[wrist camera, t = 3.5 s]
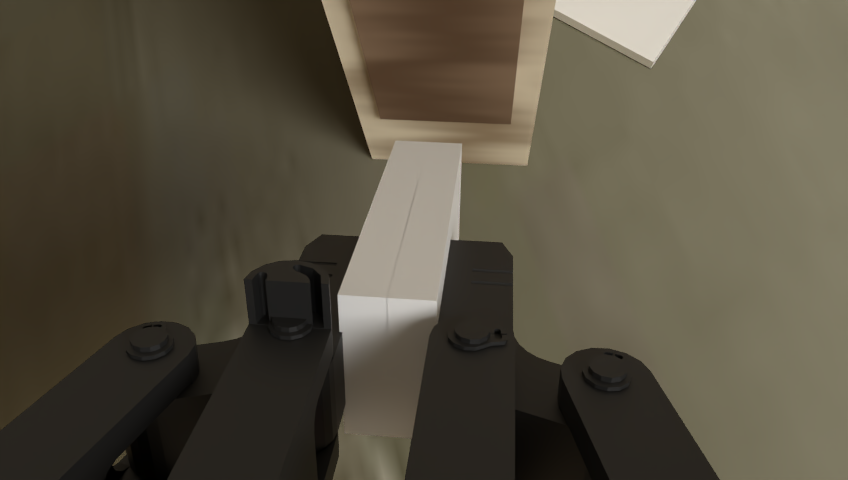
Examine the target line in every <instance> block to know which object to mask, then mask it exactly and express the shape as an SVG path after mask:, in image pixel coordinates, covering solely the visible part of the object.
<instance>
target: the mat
mask: <svg viewBox="0 0 848 480" xmlns="http://www.w3.org/2000/svg"><path fill="white" fill-rule="evenodd" d="M695 2H696V0H556V3H555V9H554V15H553V16H554V17H555V18H557V19H559V20H561V21H563V22H565V23H567V24H568V25H570V26H572V27H574V28H576V29H578V30H580V31H581V32H583V33H585V34H587V35H589V36H591V37H593V38H595V39H596V40H598V41H600V42H602V43H604V44H606V45H608V46H609V47H611V48H613V49H615V50H617V51H619V52H621V53H622V54H624V55H626V56H628V57H630V58H632V59H634V60H635V61H637V62H639V63H641V64H643V65H645V66H647V67H649V68H650V69H651V68H652V66H653V65H654V63H655V62H656V60H657V59H658V57H659V56H660V54H661V53H662V51H663V50H664V48H665V47H666V45H667V44H668V42H669V41H670V39H671V38H672V36H673V35H674V33H675V32H676V30H677V29H678V27H679V26H680V24H681V23H682V21H683V20H684V18H685V17H686V15H687V14H688V12H689V11H690V9H691V8H692V6H693V5H694V3H695Z"/></svg>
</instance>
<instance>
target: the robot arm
mask: <svg viewBox="0 0 848 480" xmlns="http://www.w3.org/2000/svg"><path fill="white" fill-rule="evenodd" d="M461 159H462V143H440V142H417V141H395V143H394V146H393V149H392V151H391V154H390V157H389V159H388V162H387V165H386V167H385V170H384V173H383V175H382V178H381V181H380V183H379V186H378V189H377V191H376V194H375V197H374V199H373V202H372V205H371V207H370V210H369V213H368V215H367V218H366V220H365V223H364V226H363V228H362V231H361V234H360V236H359V237H358V236H340V235H321V236H319V237H318V238H317V239H315V240H314V241H312V242H311V243H310V244H308V245H307V246H306V247H305V249H304V251H303V253H302V255H301V257H300V259H299V261H298V260H293V261H278V262H274V263H270V264H266V265H263V266H261V267H259V268H257V269H255V270H253V271H251V272H250V273H249V274H248V275H247V276H246V277H245V278H244V284H245V293H246V301H247V310H248V318H249V325H248V327H247V329H246V331H245V333H244V335H243V337H240V338H237V339H233V340H229V341H224V342H216V343H209V344H201V345H196V338H195V335H194V333H193V332H192V331H191V330H190V329H189V328H188V327H186V326H184V325H181V324H179V323H174V322H163V321H160V322H150V323H144V324H141V325H138V326H135V327H132V328H129V329H127V330H125V331H124V332H122V333H121V334H119V335H117V336H116V337H114V338H113V339H112V340H110V341H109V342H108V343H107V344H106V345H104V346H103V347H102V348H101V349H99V350H98V351H97V352H96V353H95V354H93V355H92V356H91V357H90V358H88V359H87V360H86V361H85V362H84V363H82V364H81V365H80V366H79V367H78V368H76V369H75V370H74V371H73V372H71V373H70V374H69V375H68V376H67V377H65V378H64V379H63V380H62V381H60V382H59V383H58V384H57V385H56V386H54V387H53V388H52V389H51V390H49V391H48V392H47V393H46V394H45V395H43V396H42V397H41V398H40V399H38V400H37V401H36V402H35V403H34V404H32V405H31V406H30V407H29V408H27V409H26V410H25V411H24V412H23V413H21V414H20V415H19V416H18V417H16V418H15V419H14V420H13V421H12V422H10V423H9V424H8V425H7V426H6V427H4V428H3V429H2V430H1V431H0V480H332V479H333V475H334V472H335V468H336V464H337V461H338V457H339V441H338V429H339V425H340V422H341V418H342V415H343V412H344V431H345V434H358V435H371V436H384V437H397V438H410V439H412V440H411V446H410V452H409V458H408V464H407V469H406V475H405V480H720V479H719V478H718V476H717V475H716V473H715V472H714V470H713V468H712V467H711V465H710V464H709V462H708V461H707V459H706V457H705V456H704V454H703V453H702V451H701V450H700V448H699V446H698V445H697V443H696V442H695V440H694V439H693V437H692V435H691V434H690V432H689V431H688V429H687V428H686V426H685V424H684V423H683V421H682V420H681V418H680V417H679V415H678V413H677V412H676V410H675V409H674V407H673V406H672V404H671V402H670V401H669V399H668V398H667V396H666V395H665V393H664V391H663V390H662V388H661V387H660V385H659V384H658V382H657V381H656V379H655V377H654V376H653V374H652V373H651V371H650V370H649V369H648V368H647V367H646V366H645V365H644V364H643V363H642V362H641V361H639V360H638V359H636V358H634V357H632V356H630V355H628V354H627V353H623V352H619V351H616V350H612V349H604V348H589V349H585V350H580V351H576V352H575V353H573V354H571V355H570V356H568V357H567V358H566V359H565V360H564V362H563V364H562V365H559V364H556V363H552V362H549V361H546V360H543V359H541V358H538V357H536V356H534V355H532V354H531V353H529V352H527V351H526V350H525V349H524V348H523V347H521V346H520V345H519V343H518V342H517V340H516V339H515V337H514V333H513V256H512V255H511V253H510V252H509V251H508V250H507V248H506V247H505V246H504V245H503V243H500V242H482V241H464V240H459V217H460V188H461ZM125 450H126V453H127V454H126V456H125V457H124V458H123V459H122V460H121V461H120V462H119V463H117V464H116V465H114V466H112V464H113V463H114V462H115V460H116V459H117V458H118V457H119V456H120V455H121V454H122V453H123V452H124V451H125Z"/></svg>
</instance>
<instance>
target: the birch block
mask: <svg viewBox="0 0 848 480" xmlns="http://www.w3.org/2000/svg"><path fill="white" fill-rule="evenodd" d="M555 3H556V0H322V4H323V7H324V10H325V13H326V16H327V19H328V22H329V25H330V29H331V32H332V35H333V38H334V41H335V44H336V47H337V50H338V54H339V57H340V60H341V63H342V66H343V69H344V72H345V75H346V79H347V82H348V85H349V88H350V91H351V94H352V97H353V100H354V104H355V107H356V110H357V113H358V116H359V119H360V122H361V125H362V129H363V132H364V135H365V138H366V141H367V144H368V147H369V150H370V154H371V157H372V159H389V157H390V154H391V151H392V149H393V146H394V143H395V141H417V142H440V143H462V159H461V163H478V164H500V165H522V166H527V163H528V158H529V152H530V146H531V140H532V135H533V129H534V123H535V118H536V112H537V106H538V100H539V95H540V89H541V83H542V78H543V72H544V66H545V60H546V55H547V49H548V43H549V38H550V32H551V26H552V20H553V15H554V9H555Z"/></svg>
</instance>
